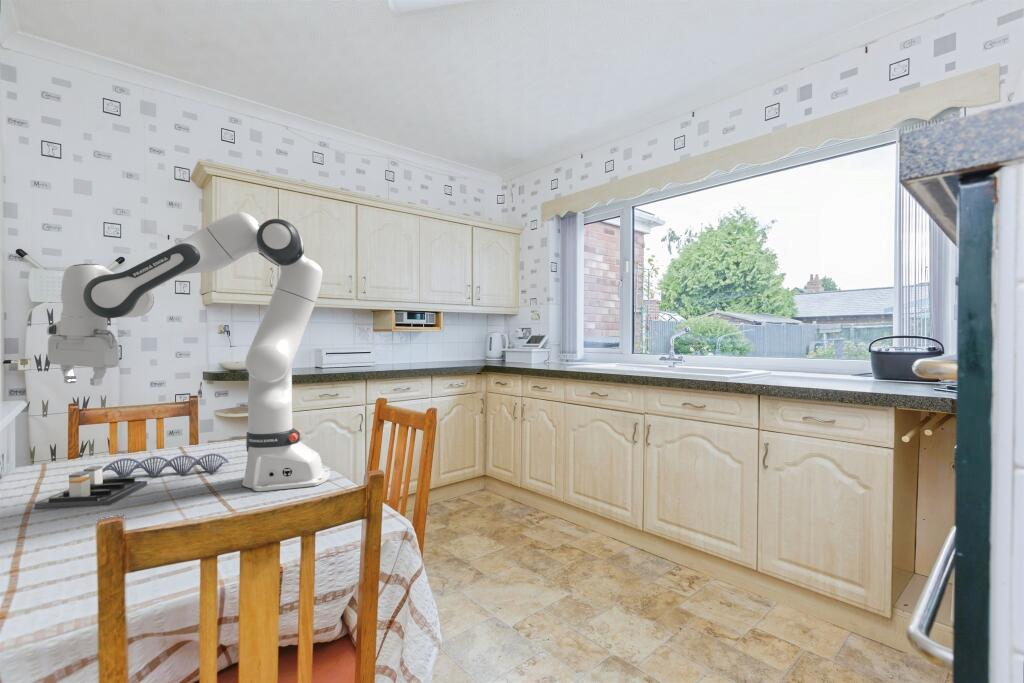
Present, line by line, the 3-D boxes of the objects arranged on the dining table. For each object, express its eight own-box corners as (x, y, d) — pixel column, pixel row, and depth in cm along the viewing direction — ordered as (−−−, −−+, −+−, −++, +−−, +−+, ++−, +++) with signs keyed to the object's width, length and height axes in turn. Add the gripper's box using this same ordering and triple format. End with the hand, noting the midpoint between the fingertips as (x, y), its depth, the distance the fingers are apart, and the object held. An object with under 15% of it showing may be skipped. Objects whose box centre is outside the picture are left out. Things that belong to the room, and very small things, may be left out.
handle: (102, 483, 129) (102, 465, 129) (94, 486, 126) (94, 469, 126) (92, 483, 129) (91, 466, 129) (84, 487, 126) (83, 469, 126)
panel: (147, 485, 132) (147, 477, 132) (109, 505, 117) (109, 496, 117) (81, 487, 130) (81, 479, 130) (34, 508, 115) (34, 499, 115)
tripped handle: (90, 495, 120) (89, 476, 120) (81, 499, 117) (80, 480, 117) (78, 495, 120) (78, 477, 119) (69, 499, 117) (69, 480, 117)
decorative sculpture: (223, 474, 142) (222, 454, 142) (98, 483, 135) (98, 461, 135) (229, 469, 148) (229, 450, 148) (110, 477, 140) (110, 456, 140)
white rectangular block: (89, 489, 124) (88, 471, 124) (80, 493, 121) (80, 474, 121) (78, 489, 124) (77, 471, 124) (69, 493, 121) (68, 475, 121)
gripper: (127, 330, 121) (126, 385, 122) (71, 328, 127) (70, 380, 128) (99, 329, 115) (98, 388, 116) (41, 327, 121) (40, 382, 122)
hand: (82, 384), depth 122 cm, fingers open, 8 cm apart
